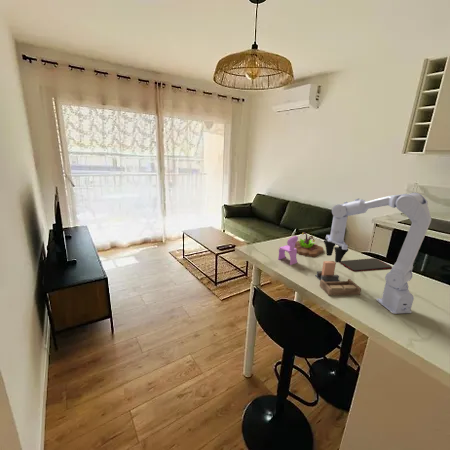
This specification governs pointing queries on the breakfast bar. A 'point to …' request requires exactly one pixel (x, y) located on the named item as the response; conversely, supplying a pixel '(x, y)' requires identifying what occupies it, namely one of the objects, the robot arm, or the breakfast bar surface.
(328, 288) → the brown shallow tray
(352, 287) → the offcut
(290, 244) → the toy chair
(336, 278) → the stand
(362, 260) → the dark rectangular slab
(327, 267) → the salmon pink block
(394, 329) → the breakfast bar surface
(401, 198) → the robot arm
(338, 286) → the offcut
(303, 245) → the plant
